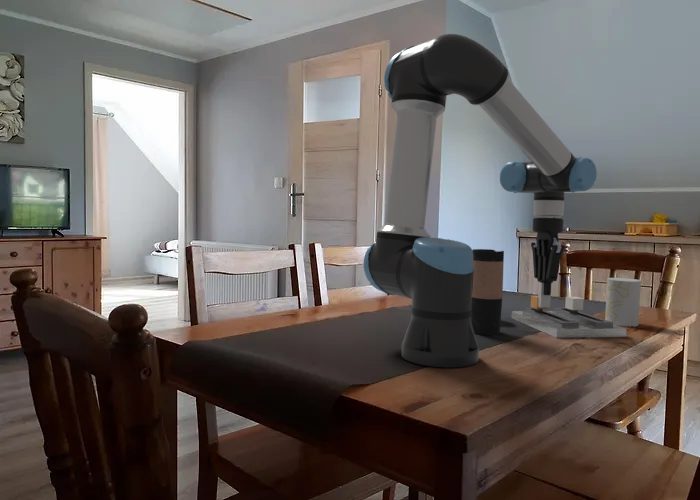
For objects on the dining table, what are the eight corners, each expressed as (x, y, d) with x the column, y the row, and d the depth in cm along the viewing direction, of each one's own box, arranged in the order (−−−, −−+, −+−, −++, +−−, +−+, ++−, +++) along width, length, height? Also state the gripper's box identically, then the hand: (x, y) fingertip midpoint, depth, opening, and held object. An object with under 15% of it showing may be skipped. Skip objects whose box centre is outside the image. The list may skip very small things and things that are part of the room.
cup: (598, 321, 155) (600, 277, 154) (622, 320, 158) (624, 277, 157) (620, 327, 147) (623, 281, 147) (645, 325, 150) (648, 281, 149)
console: (556, 337, 132) (557, 324, 132) (511, 318, 156) (512, 306, 156) (625, 336, 135) (626, 323, 135) (571, 317, 159) (571, 306, 159)
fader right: (572, 316, 148) (573, 298, 147) (564, 314, 151) (565, 296, 151) (582, 316, 148) (583, 298, 148) (575, 314, 152) (576, 296, 151)
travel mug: (468, 334, 134) (471, 250, 133) (469, 327, 141) (472, 248, 140) (501, 336, 132) (504, 251, 131) (500, 330, 140) (503, 249, 138)
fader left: (536, 315, 148) (537, 297, 148) (530, 313, 152) (531, 295, 151) (547, 315, 149) (548, 297, 148) (540, 313, 152) (541, 295, 152)
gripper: (575, 217, 140) (570, 311, 142) (548, 217, 153) (544, 302, 154) (547, 217, 139) (542, 311, 140) (523, 216, 152) (519, 302, 153)
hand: (543, 306), depth 147 cm, fingers closed
